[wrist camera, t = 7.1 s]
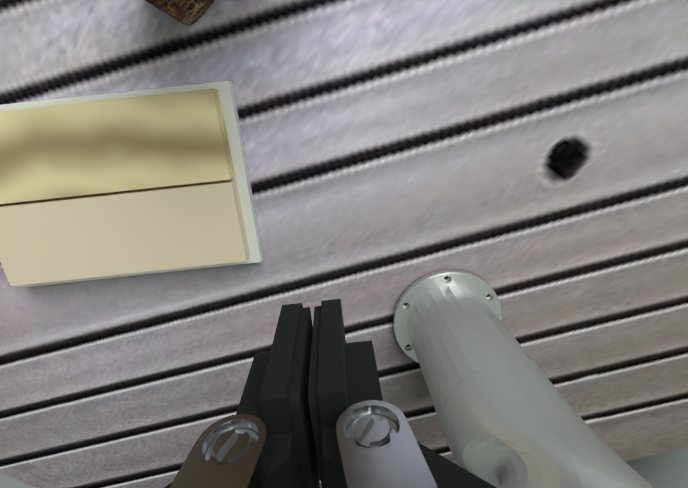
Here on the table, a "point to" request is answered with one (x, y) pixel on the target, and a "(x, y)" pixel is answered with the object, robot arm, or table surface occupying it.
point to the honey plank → (113, 146)
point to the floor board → (134, 219)
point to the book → (183, 9)
